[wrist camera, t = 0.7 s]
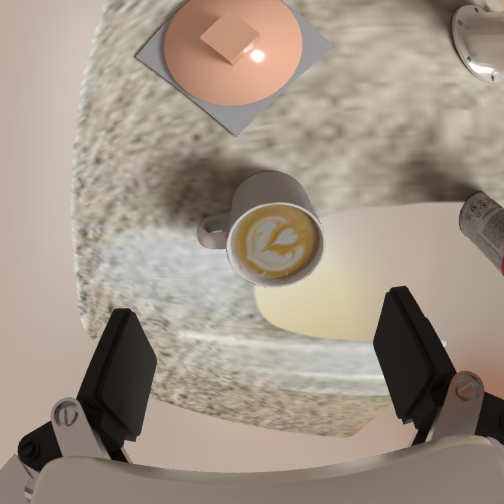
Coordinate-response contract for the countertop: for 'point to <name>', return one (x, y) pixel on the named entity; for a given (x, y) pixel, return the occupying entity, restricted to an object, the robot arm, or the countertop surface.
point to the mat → (245, 114)
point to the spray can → (484, 227)
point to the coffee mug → (268, 231)
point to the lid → (233, 49)
